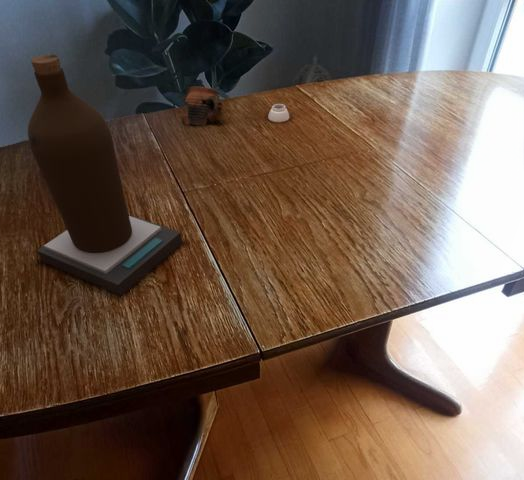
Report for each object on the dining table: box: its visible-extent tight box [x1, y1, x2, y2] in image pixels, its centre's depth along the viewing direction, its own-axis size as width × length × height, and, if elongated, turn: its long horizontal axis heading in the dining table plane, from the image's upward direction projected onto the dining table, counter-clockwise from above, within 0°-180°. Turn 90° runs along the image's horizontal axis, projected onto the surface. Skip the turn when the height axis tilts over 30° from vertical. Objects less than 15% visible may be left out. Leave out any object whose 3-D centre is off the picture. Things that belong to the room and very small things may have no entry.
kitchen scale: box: [36, 214, 184, 297], centre depth 75 cm, size 17×15×3 cm
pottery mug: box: [182, 86, 223, 127], centre depth 109 cm, size 12×10×8 cm
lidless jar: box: [267, 103, 290, 123], centre depth 109 cm, size 5×3×5 cm
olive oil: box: [27, 53, 132, 253], centre depth 64 cm, size 11×11×25 cm
